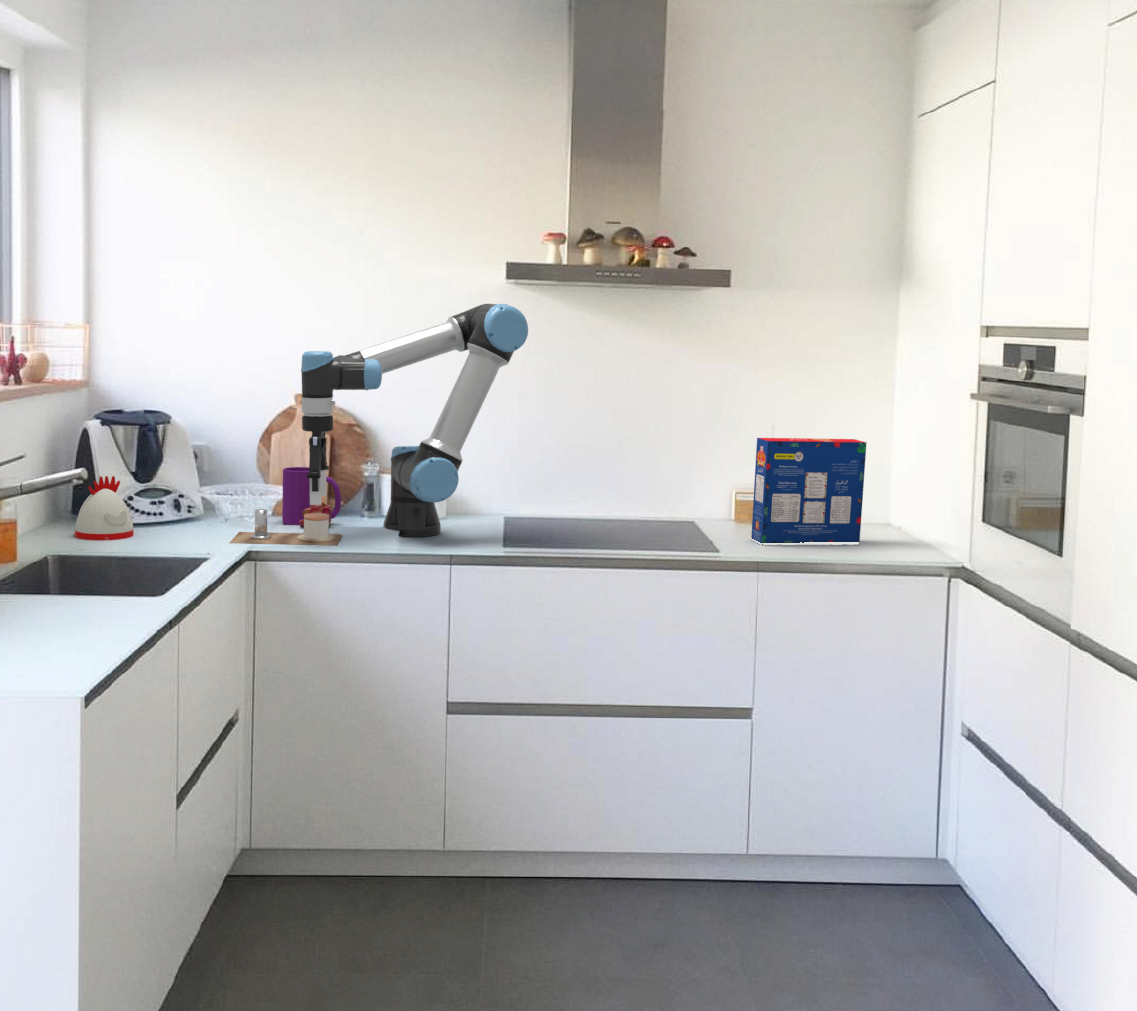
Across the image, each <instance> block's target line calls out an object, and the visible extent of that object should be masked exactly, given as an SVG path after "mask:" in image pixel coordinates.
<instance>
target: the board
mask: <svg viewBox="0 0 1137 1011" xmlns="http://www.w3.org/2000/svg"><path fill="white" fill-rule="evenodd" d="M253 534H255V531H239V532H237V533H236V535H235V536H234V537H233V538H232V539H231V540H230V542H229V544H248V545H249V544H250V545H251V544H253V545H254V544H255V545H288V546H290V545H293V546H295V545H296V546H332V547H334V546H335V547H337V546H339V544H340V542H341V540H342V538H343V536H344V534H341V533H328V535H333V536H334V537H335V540H333V541H329V542H304V541H300V540H298V536H299V535H303V534H304V532H303V533H301V532H299V533H298V532H268V531H267V534H269V535H271V539H266V540H256V539H251V535H253Z"/></svg>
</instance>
